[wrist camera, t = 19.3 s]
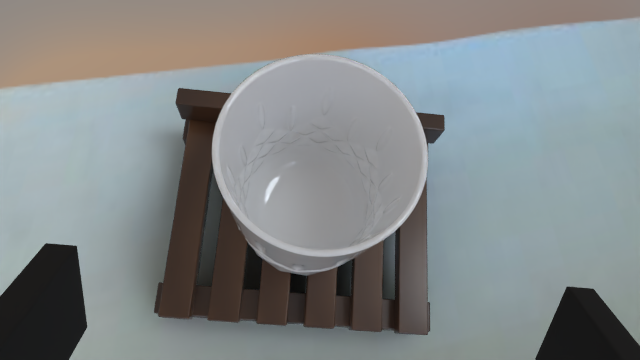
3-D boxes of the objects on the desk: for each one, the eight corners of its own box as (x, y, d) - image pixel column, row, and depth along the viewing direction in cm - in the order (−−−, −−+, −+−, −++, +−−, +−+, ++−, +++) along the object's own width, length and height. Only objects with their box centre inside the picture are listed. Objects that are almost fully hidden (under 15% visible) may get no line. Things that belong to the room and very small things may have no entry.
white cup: (231, 151, 28) (211, 53, 18) (365, 147, 29) (414, 52, 19) (233, 291, 25) (211, 262, 16) (380, 282, 26) (443, 250, 17)
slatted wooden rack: (417, 149, 33) (444, 114, 28) (417, 335, 29) (449, 335, 24) (192, 127, 32) (177, 87, 26) (162, 318, 28) (138, 314, 23)
